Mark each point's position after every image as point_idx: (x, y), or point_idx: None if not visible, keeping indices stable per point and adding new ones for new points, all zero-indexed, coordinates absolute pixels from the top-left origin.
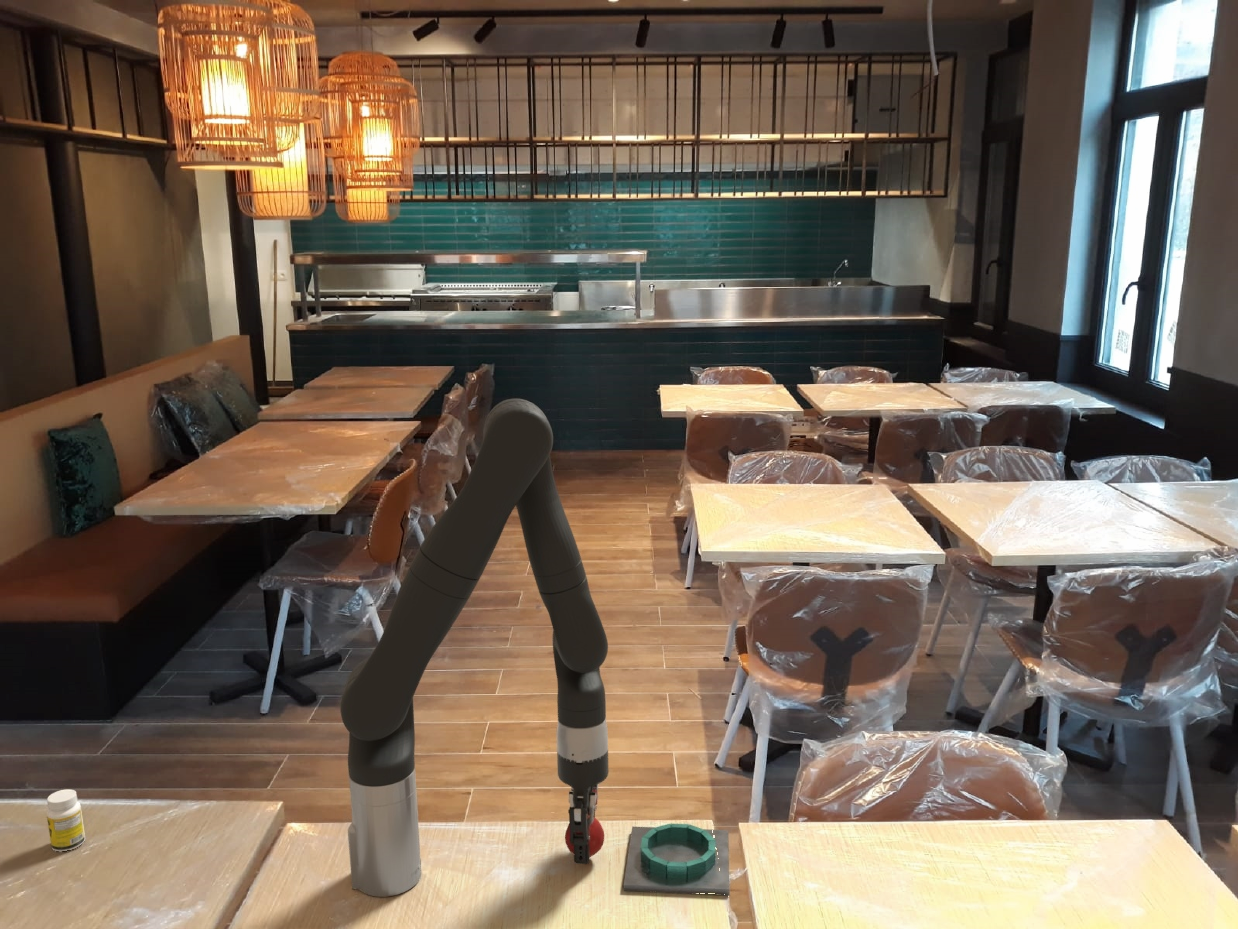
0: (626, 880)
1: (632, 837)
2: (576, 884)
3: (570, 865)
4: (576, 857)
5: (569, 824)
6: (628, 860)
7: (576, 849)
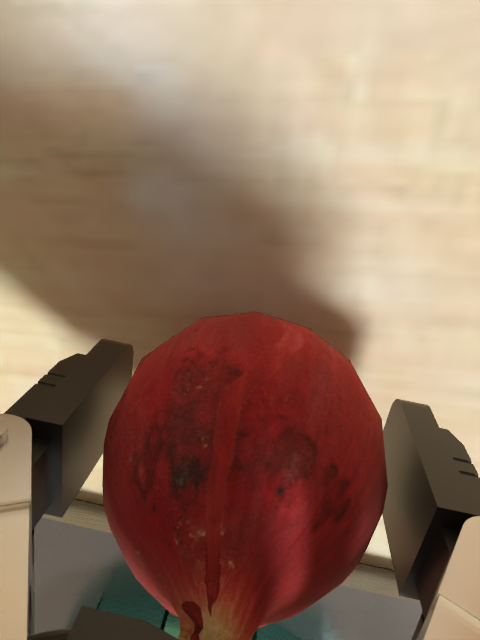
0: None
1: (359, 596)
2: (49, 312)
3: (207, 293)
4: (52, 371)
5: (233, 420)
6: None
7: (17, 404)
